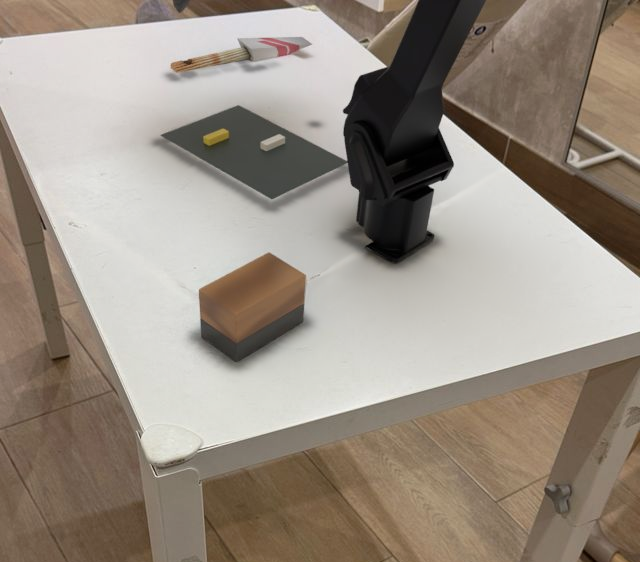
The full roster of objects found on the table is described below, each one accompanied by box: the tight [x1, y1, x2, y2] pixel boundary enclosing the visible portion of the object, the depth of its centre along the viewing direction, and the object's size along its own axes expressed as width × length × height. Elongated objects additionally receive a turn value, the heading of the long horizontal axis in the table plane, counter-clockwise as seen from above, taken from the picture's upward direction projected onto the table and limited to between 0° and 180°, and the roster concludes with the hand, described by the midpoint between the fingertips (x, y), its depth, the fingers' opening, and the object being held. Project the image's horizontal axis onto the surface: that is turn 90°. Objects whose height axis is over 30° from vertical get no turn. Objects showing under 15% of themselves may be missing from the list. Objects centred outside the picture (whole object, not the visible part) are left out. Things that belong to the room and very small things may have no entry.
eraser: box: [198, 251, 307, 363], centre depth 69 cm, size 4×8×5 cm, turn 137°
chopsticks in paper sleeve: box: [170, 36, 313, 73], centre depth 108 cm, size 4×3×20 cm
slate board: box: [160, 104, 348, 200], centre depth 91 cm, size 18×12×1 cm, turn 47°
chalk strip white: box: [260, 134, 285, 151], centre depth 91 cm, size 1×3×1 cm, turn 137°
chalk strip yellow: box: [203, 129, 229, 146], centre depth 91 cm, size 1×3×1 cm, turn 137°
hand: (214, 1), depth 86 cm, fingers open, 9 cm apart
